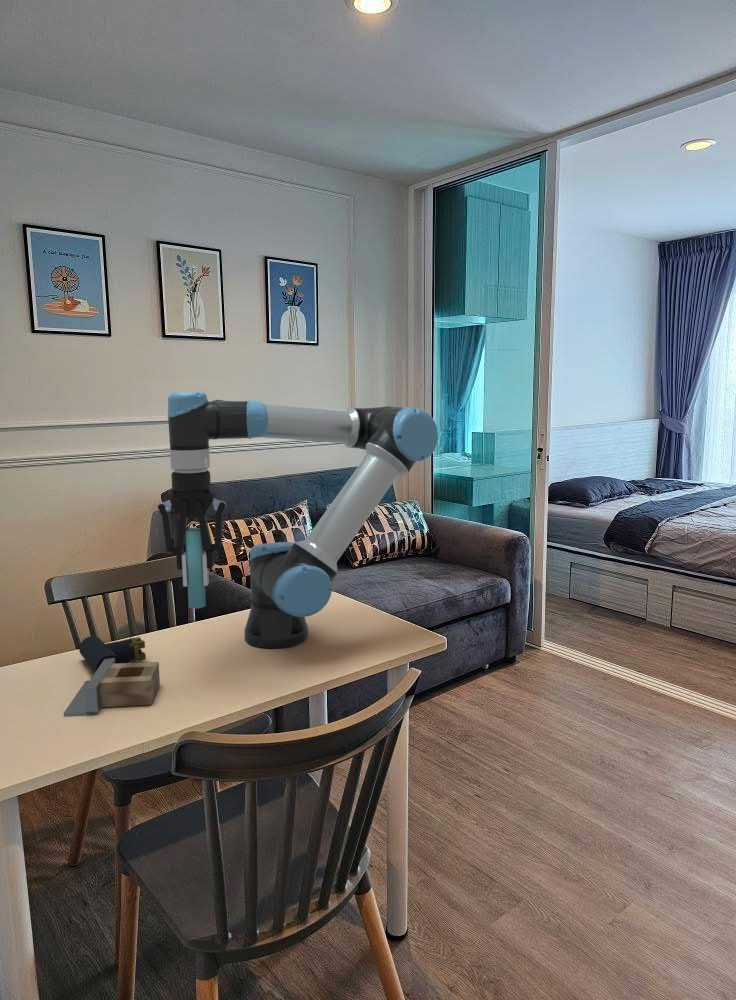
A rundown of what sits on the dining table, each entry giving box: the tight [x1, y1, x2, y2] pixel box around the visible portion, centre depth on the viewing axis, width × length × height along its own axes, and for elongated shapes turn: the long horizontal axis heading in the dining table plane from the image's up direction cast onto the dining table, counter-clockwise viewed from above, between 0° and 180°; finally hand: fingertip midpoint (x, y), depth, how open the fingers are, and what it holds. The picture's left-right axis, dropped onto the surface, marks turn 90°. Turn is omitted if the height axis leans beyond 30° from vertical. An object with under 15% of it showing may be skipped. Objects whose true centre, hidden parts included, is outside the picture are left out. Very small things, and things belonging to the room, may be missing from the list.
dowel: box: [184, 527, 207, 609], centre depth 138 cm, size 3×3×16 cm
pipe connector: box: [78, 635, 147, 673], centre depth 146 cm, size 12×5×15 cm
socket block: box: [100, 661, 161, 708], centre depth 131 cm, size 9×9×5 cm
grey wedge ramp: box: [63, 658, 115, 717], centre depth 131 cm, size 6×14×5 cm, turn 7°
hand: (196, 583), depth 139 cm, fingers closed on dowel, 3 cm apart
